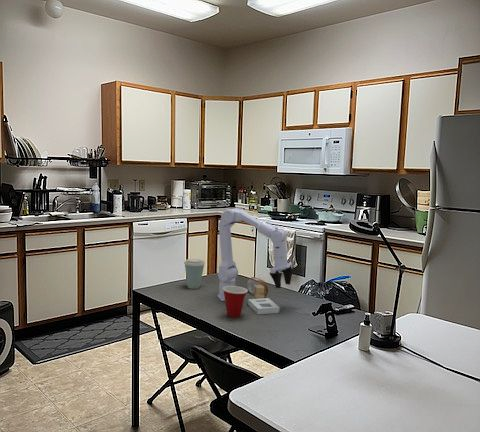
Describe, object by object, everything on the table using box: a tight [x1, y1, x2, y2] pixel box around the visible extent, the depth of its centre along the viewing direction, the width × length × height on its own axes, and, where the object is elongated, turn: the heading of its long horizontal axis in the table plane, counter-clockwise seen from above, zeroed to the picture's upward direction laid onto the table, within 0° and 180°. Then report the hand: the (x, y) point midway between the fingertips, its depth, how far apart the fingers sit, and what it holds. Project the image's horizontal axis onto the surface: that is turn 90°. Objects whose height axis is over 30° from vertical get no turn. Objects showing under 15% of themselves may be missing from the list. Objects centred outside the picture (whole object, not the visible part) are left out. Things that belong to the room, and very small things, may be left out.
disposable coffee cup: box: [184, 258, 205, 290], centre depth 230 cm, size 11×11×15 cm
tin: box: [246, 276, 269, 298], centre depth 220 cm, size 15×3×8 cm, turn 34°
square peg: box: [253, 285, 265, 299], centre depth 211 cm, size 4×4×7 cm
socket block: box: [247, 297, 280, 315], centre depth 199 cm, size 14×10×2 cm
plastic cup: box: [223, 285, 249, 319], centre depth 188 cm, size 11×11×12 cm
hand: (283, 286), depth 198 cm, fingers open, 7 cm apart
